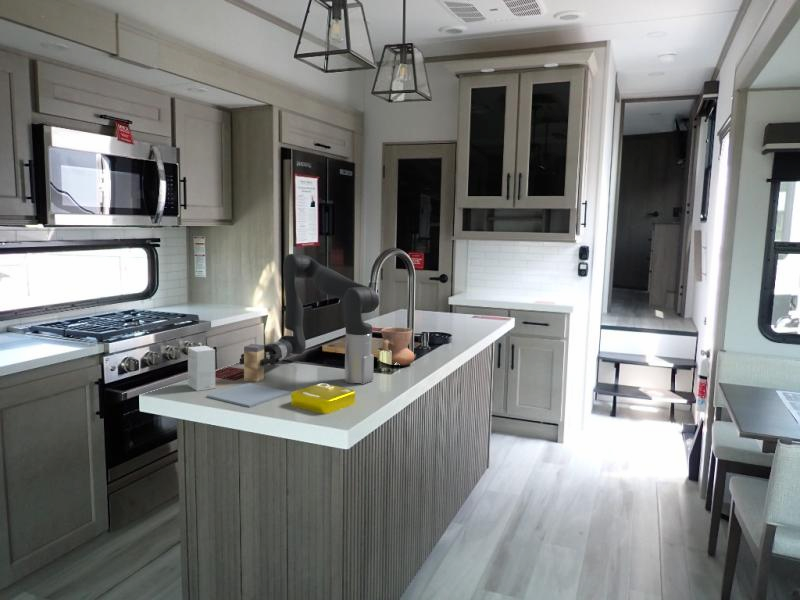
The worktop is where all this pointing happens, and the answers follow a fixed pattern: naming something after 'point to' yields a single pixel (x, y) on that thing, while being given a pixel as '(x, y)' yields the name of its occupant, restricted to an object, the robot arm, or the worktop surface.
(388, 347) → the ceramic jug
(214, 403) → the worktop surface
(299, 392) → the element tile
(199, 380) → the small box
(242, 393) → the grey mat
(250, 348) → the wood block
